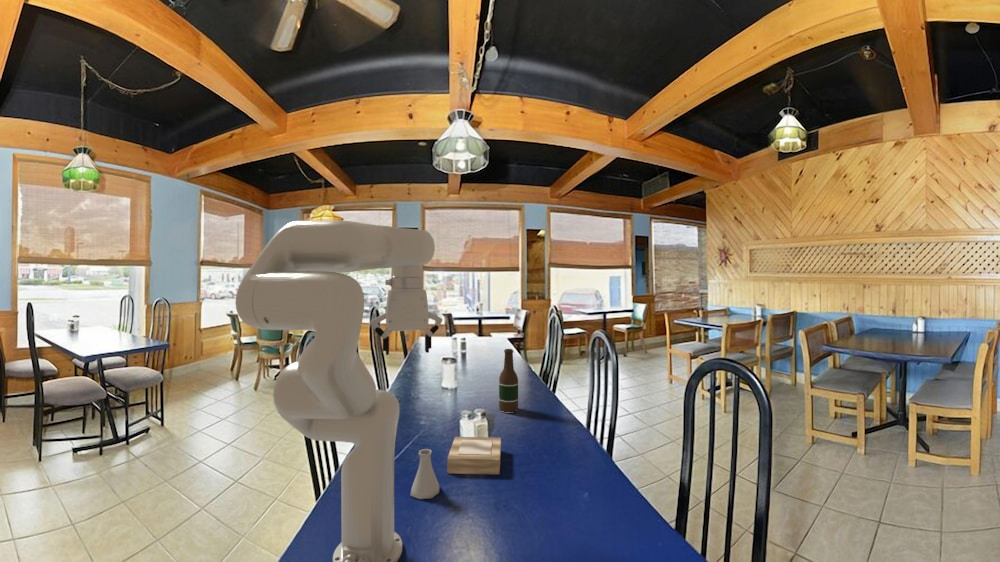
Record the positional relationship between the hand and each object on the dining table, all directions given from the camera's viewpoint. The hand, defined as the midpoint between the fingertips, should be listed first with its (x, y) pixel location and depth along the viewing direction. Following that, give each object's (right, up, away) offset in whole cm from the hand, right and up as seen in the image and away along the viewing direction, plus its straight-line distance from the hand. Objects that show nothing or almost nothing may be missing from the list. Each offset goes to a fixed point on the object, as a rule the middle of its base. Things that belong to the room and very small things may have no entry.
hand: (407, 352), depth 98 cm
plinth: (+16, -34, +14) cm, 40 cm away
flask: (+5, -34, -1) cm, 35 cm away
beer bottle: (+27, -33, +56) cm, 70 cm away
